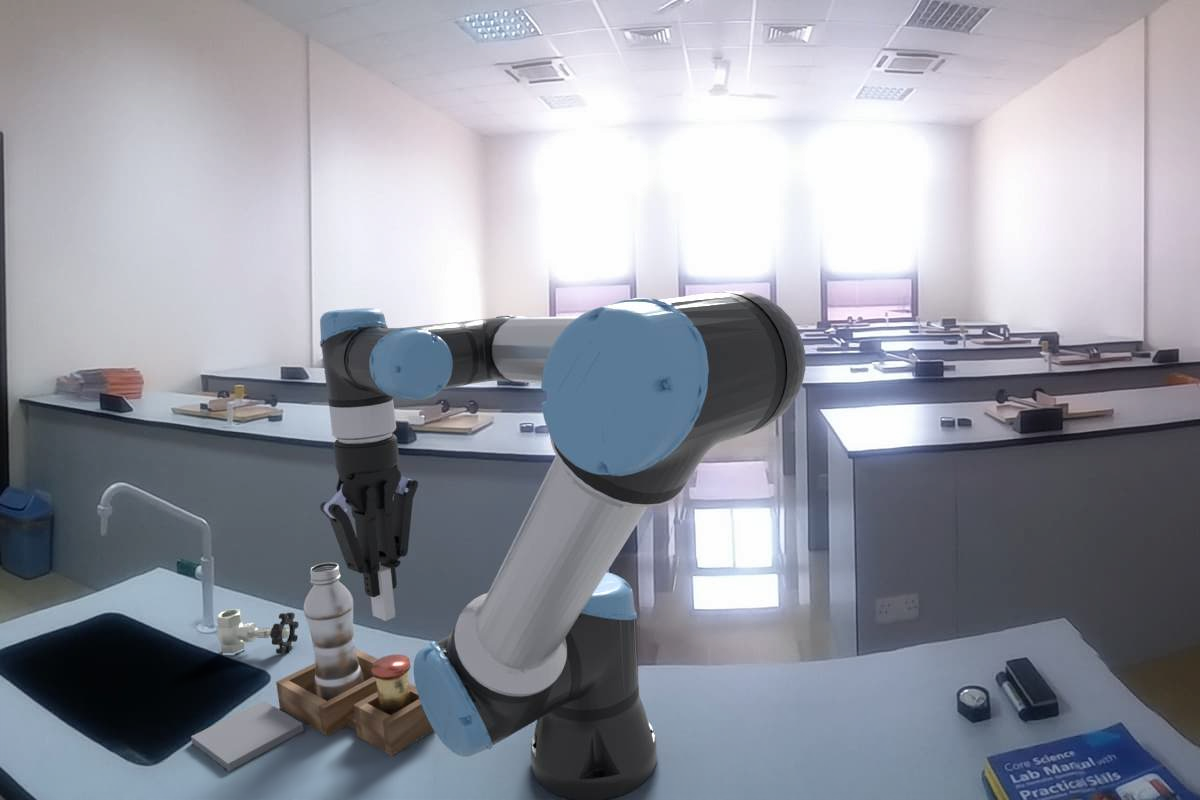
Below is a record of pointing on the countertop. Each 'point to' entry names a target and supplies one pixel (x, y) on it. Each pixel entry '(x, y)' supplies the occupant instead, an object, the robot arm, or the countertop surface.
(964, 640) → the countertop surface
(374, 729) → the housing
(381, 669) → the copper-capped cylinder
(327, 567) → the plastic bottle
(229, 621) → the valve
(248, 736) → the pad
